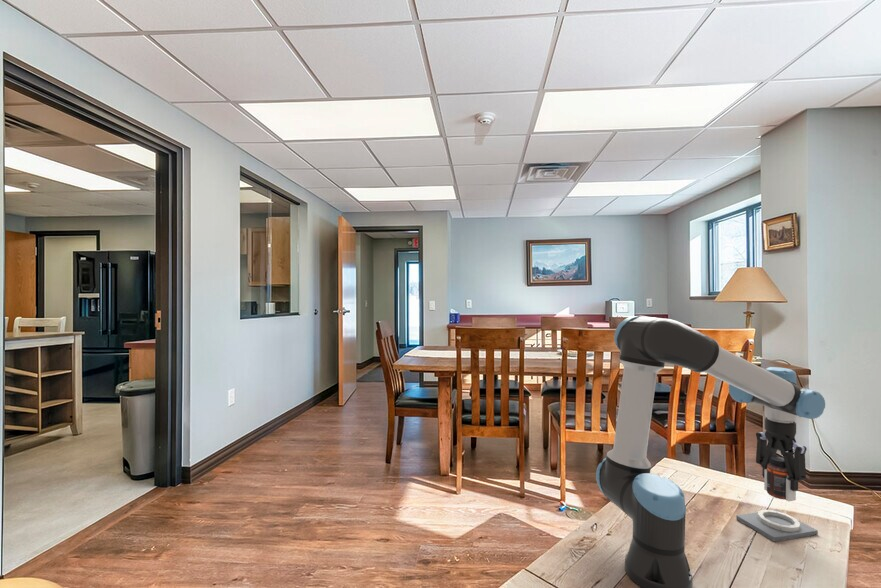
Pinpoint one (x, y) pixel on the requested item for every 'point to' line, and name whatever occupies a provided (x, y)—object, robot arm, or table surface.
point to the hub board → (776, 525)
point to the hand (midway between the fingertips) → (779, 494)
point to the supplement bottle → (777, 478)
